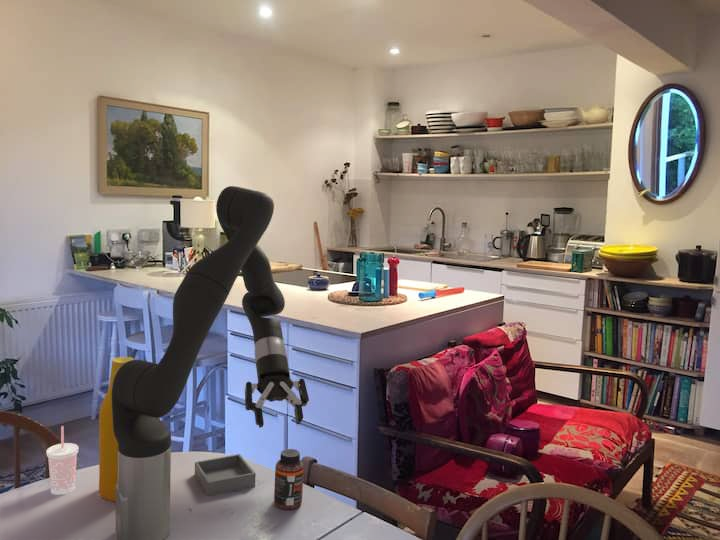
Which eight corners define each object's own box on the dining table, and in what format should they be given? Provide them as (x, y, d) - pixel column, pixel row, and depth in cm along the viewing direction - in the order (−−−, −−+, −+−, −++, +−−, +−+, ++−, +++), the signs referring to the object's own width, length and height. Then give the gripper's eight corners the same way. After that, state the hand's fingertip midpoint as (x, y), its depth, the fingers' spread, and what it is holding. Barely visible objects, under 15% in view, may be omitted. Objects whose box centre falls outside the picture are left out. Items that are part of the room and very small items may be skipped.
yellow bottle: (93, 487, 128) (93, 356, 124) (137, 477, 134) (138, 351, 130) (105, 507, 121) (105, 368, 117) (151, 495, 127) (152, 362, 123)
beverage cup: (40, 491, 126) (39, 427, 124) (66, 479, 131) (65, 418, 129) (59, 499, 123) (58, 434, 121) (85, 487, 128) (84, 424, 126)
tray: (208, 496, 127) (208, 482, 127) (194, 474, 136) (194, 462, 136) (255, 486, 133) (255, 473, 132) (239, 465, 142) (239, 453, 141)
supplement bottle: (297, 512, 123) (299, 460, 121) (269, 508, 124) (271, 456, 123) (305, 498, 129) (307, 448, 127) (279, 494, 130) (281, 444, 128)
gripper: (243, 353, 137) (251, 420, 128) (303, 351, 142) (315, 415, 133) (239, 369, 143) (246, 434, 134) (297, 366, 148) (307, 428, 139)
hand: (280, 424), depth 133 cm, fingers open, 8 cm apart
